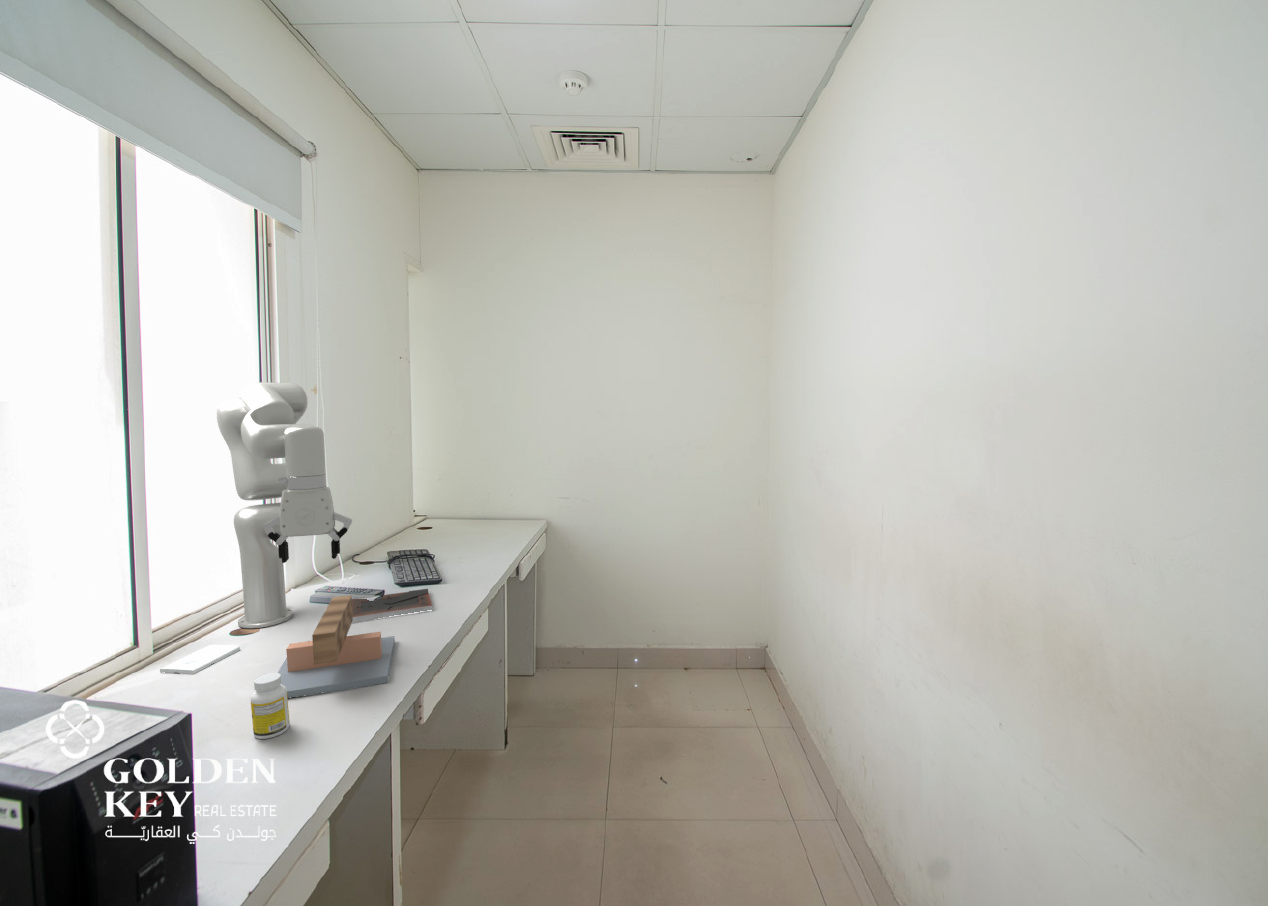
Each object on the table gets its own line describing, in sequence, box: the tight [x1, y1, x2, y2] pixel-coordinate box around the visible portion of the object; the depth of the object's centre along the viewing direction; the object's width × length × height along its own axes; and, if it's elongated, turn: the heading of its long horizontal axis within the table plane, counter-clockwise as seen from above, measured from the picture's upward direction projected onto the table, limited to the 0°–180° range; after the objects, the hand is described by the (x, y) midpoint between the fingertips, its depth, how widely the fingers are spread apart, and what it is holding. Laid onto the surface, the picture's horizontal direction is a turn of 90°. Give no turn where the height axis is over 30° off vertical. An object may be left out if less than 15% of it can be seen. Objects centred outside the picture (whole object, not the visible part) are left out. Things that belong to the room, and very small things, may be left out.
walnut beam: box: [311, 594, 353, 665], centre depth 123 cm, size 24×4×6 cm, turn 20°
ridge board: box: [277, 631, 396, 699], centre depth 123 cm, size 22×22×6 cm
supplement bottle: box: [250, 672, 290, 740], centre depth 99 cm, size 5×5×10 cm
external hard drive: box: [159, 644, 241, 675], centre depth 129 cm, size 2×8×12 cm
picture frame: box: [351, 588, 433, 625], centre depth 162 cm, size 16×2×22 cm
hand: (310, 559), depth 125 cm, fingers open, 9 cm apart
